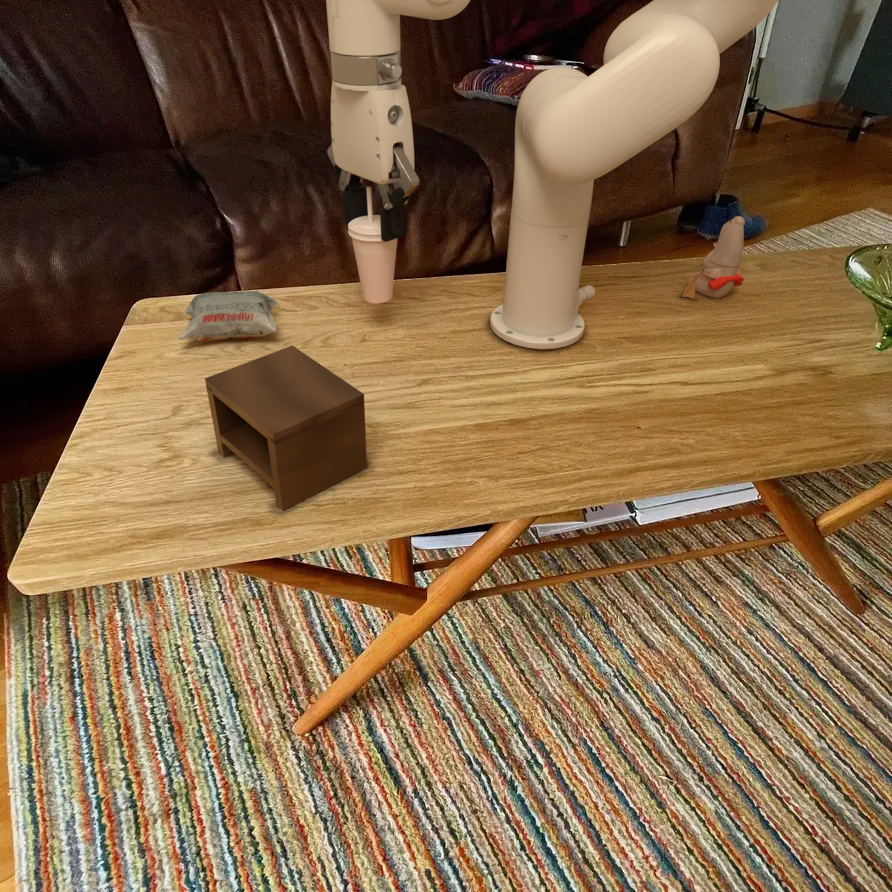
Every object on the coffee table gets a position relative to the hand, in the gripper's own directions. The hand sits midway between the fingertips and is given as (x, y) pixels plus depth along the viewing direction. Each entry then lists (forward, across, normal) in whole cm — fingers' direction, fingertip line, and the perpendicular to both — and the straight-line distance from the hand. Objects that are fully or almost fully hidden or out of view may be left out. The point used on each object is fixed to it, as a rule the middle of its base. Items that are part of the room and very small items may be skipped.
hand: (374, 228), depth 93 cm
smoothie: (+9, 0, 0) cm, 9 cm away
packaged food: (+13, +11, +16) cm, 23 cm away
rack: (+13, -16, +25) cm, 33 cm away
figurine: (+15, -22, -44) cm, 52 cm away
